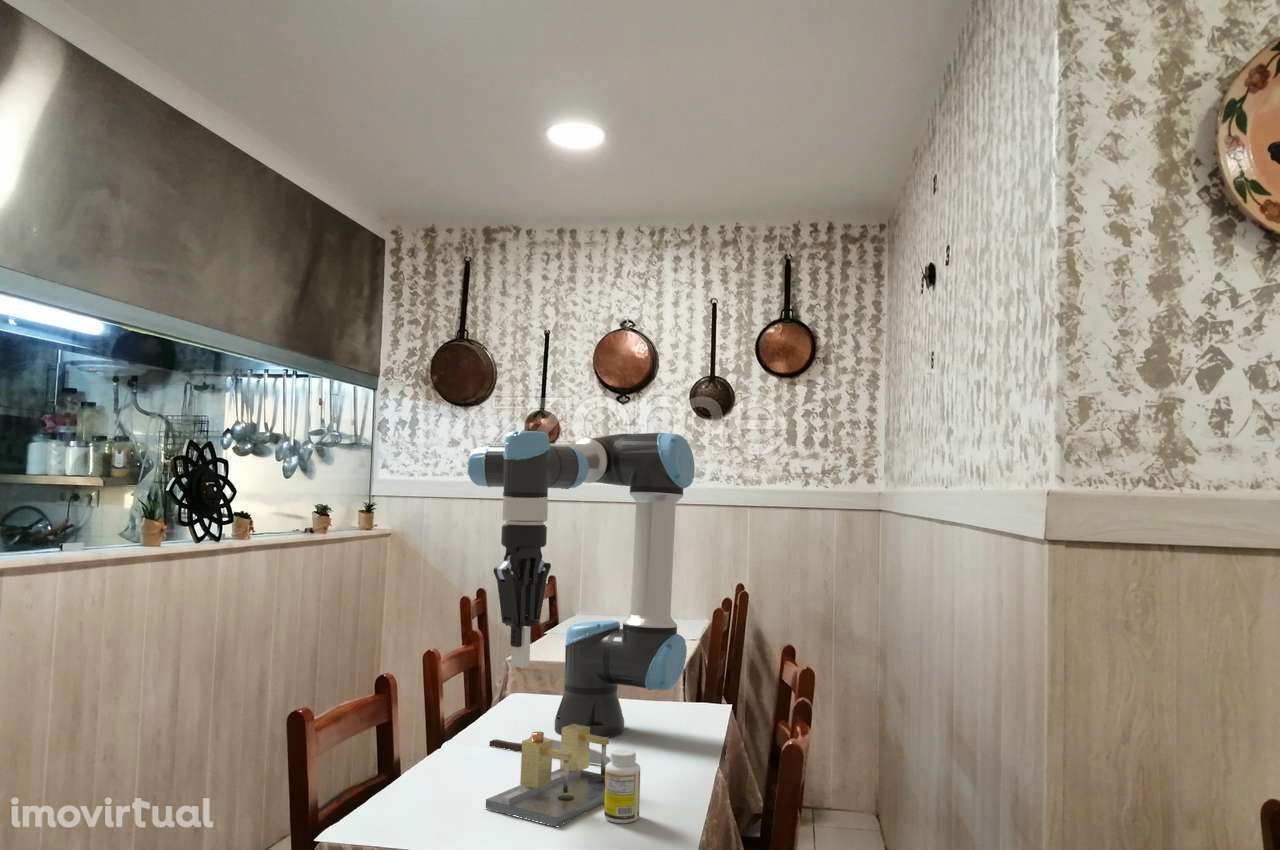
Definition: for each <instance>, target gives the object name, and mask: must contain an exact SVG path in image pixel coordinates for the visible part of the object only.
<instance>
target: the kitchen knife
mask: <svg viewBox="0 0 1280 850" xmlns="http://www.w3.org/2000/svg"><path fill="white" fill-rule="evenodd" d="M529 738H532V735H531V736H530V737H529ZM544 738H546V739H551V740H553V744H552V749H557V750H561V740H559V739H555V738H549V737H547V736H544ZM489 746H495V747H500V748H505V749H504V750H506V749H510V750H509V751H511V750H515V751H514V752H517V751H521V752H520V753H522V742H521V743H520V742H513V741H511V742H510V741H507V740H501V739H497V738H496V739H495V738H494V739H492V740H489V745H488V747H489ZM495 747H494V748H495ZM500 748H499V749H500ZM601 752H602V751H599V750H598V749H597V750H596V749H594V748H591V747H589V763H591V764H596V765H601ZM610 757H611V756H608V755H606V765H607V764H608V763H609V762H611V759H610Z"/></svg>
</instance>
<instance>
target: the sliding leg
mask: <svg viewBox="0 0 1280 850" xmlns="http://www.w3.org/2000/svg"><path fill="white" fill-rule="evenodd" d="M544 734H545V733H544V732H543V731H532V732H531V736H532V738H530V737H528V738H526V739H523V740H522V741H521V744H522V752H521V759H520V760H521V761H520V763H521V764H520V780H519V781H520V782H519V785H524V786H528V787H532V788H536V789H539V788H541V787H543V786H546V785H548V784H550V783H551V772H552V764H553V760H552V759H557V758H558V759H559V760H560V759H562V760H564V777H563V793H568V775H569V760H570V759H572V752H567V751H562V750H557V749H552V744H553V740H551V739H552V738H550V739H546V738H544V737H545V735H544ZM552 757H553V758H552Z"/></svg>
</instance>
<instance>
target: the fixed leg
mask: <svg viewBox="0 0 1280 850" xmlns="http://www.w3.org/2000/svg"><path fill="white" fill-rule="evenodd" d="M560 735H561V736H560V737H561V739H560V741H561V750H562V751H567V752H572V759H570V760H569V771H573V772H579V771H582V770H584V771H585V770H586V769H588V768H589V748H590V743H591V744H596V745H601V751H600V752H601V764H600V774H601V775H602V776H604V775H605V768H606V756H607V745H609V743H610V737H602V736H596V735H591V734H590V727H588V726H582V725H577V724H571V725H568V726H566V727H563V728H562V732H561V734H560ZM559 760H560V761H559V762H560V764H559V766H560V767H559V769H564V760H562V759H559Z"/></svg>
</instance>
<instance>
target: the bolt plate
mask: <svg viewBox="0 0 1280 850" xmlns="http://www.w3.org/2000/svg"><path fill="white" fill-rule="evenodd" d="M563 777H564V769H560V768H558V769H556V770H553V771H551V783H550V784H548V785H546V786H543V787H541V788H539V789H536V788H532V787H528V786H524V785H520V784H519V785H517V786H515V787H513V788H510V789H507V790H505V791H502V792H501V793H500V792H499V793H498V794H495V795H493V796H490V797H488V798H486V799H485V809H486V808H487V809H490V810H489V811H491V810H493V811H492V812H495V811H497V812H496V813H499V812H501V813H500V814H503V813H506V814H510V815H516V816H519V817H522V818H527V819H530V820H534V821H538V822H542V823H545V824H549V825H552V826H559V825H561V824H563V823H565V822H567V821H569V820H571V821H573V820H575V819H576V817H577V818H579V817H580V815H581V816H583V815H584V813H585V814H587V813H589V812H590V810H591V811H592V809H593V810H594V808H595V809H597V808H598V807H600V806H602V805H604V804H605V775H604V776H602V775H601V773H598V772H594V771H588V770H585V769H584V770H582V771H579V772H573V771H569V775H568V793H563ZM487 809H486V810H487ZM588 811H589V812H588ZM586 812H587V813H586ZM506 814H505V815H506ZM582 814H583V815H582ZM510 815H509V816H510ZM578 816H579V817H578ZM522 818H521V819H522ZM574 818H575V819H574ZM572 819H573V820H572ZM569 822H570V821H569ZM567 823H568V822H567ZM545 824H544V825H545ZM565 824H566V823H565ZM563 825H564V824H563ZM552 826H551V827H552ZM561 826H562V825H561ZM559 827H560V826H559Z"/></svg>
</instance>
